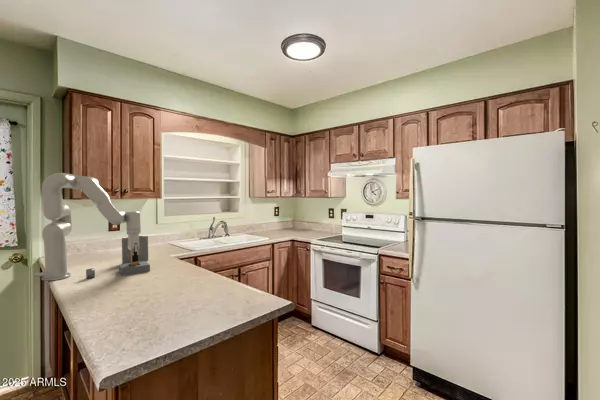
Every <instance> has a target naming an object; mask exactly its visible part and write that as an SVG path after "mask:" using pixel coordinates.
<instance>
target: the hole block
mask: <svg viewBox="0 0 600 400" xmlns="http://www.w3.org/2000/svg"><path fill="white" fill-rule="evenodd" d="M150 271H151V263H149V262H148V261H141V262H138V265H136V266H131V263H127V264H118V272H119V274H120V275H121V276H127V275H134V274H139V273H145V272H146V273H147V272H150Z"/></svg>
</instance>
